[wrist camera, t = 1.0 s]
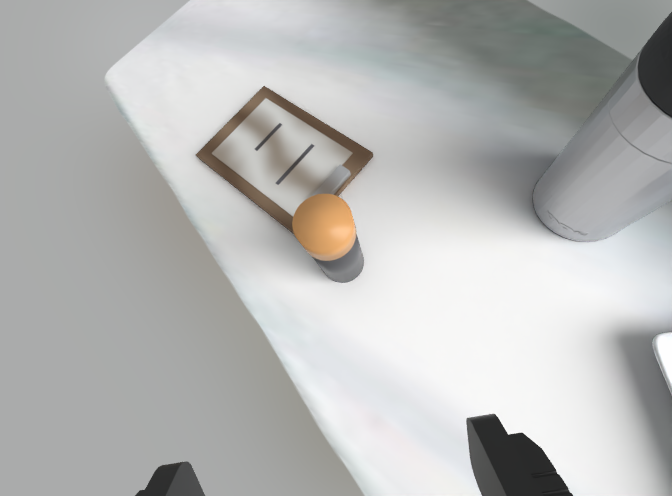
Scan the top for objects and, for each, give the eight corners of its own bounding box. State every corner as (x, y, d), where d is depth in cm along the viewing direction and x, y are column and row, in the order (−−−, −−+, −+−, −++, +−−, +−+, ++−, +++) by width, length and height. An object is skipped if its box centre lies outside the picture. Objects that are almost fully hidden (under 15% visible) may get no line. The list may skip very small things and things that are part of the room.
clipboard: (266, 90, 49) (261, 80, 47) (373, 156, 42) (372, 147, 41) (198, 158, 47) (191, 150, 45) (300, 239, 40) (296, 233, 39)
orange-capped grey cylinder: (340, 233, 40) (319, 183, 28) (373, 258, 38) (365, 215, 27) (313, 265, 39) (280, 226, 28) (345, 292, 37) (324, 262, 26)
